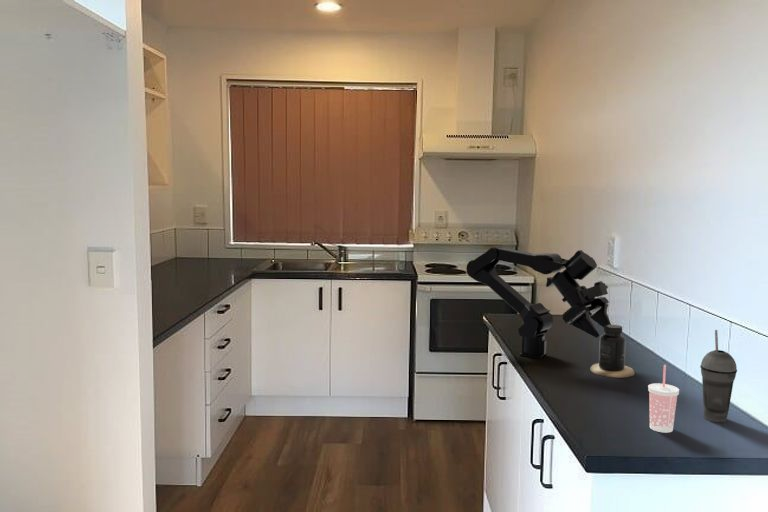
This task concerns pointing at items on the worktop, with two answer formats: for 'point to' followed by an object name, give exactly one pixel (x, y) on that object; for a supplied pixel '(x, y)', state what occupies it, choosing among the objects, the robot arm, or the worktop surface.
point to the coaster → (612, 372)
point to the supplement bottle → (612, 349)
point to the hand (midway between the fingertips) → (605, 333)
